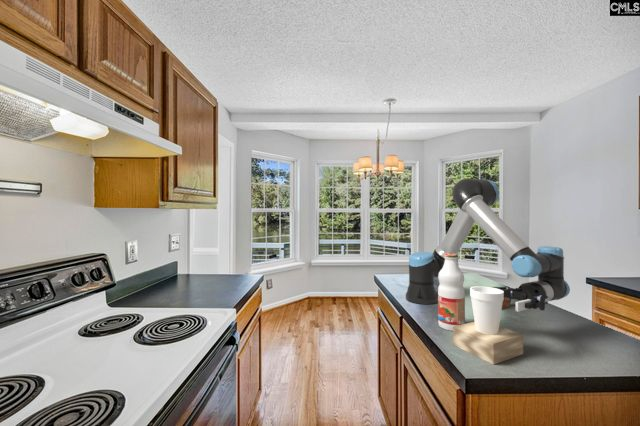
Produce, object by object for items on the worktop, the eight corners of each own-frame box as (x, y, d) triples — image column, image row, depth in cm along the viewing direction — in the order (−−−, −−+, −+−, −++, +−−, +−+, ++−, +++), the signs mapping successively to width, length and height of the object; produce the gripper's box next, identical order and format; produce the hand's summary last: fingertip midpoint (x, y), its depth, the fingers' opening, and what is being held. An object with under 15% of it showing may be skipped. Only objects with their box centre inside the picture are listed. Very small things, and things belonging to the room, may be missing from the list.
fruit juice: (469, 331, 108) (469, 255, 108) (444, 332, 108) (443, 255, 108) (458, 322, 117) (457, 252, 117) (434, 322, 117) (433, 252, 117)
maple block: (453, 344, 97) (452, 326, 97) (481, 336, 103) (481, 319, 103) (493, 364, 85) (493, 343, 85) (523, 354, 91) (523, 334, 91)
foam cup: (503, 339, 88) (503, 295, 87) (469, 332, 92) (468, 291, 92) (503, 328, 96) (503, 288, 96) (471, 322, 100) (471, 284, 100)
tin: (491, 311, 129) (491, 292, 129) (485, 309, 131) (484, 291, 131) (512, 306, 136) (511, 288, 136) (505, 304, 138) (504, 286, 138)
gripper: (577, 314, 93) (537, 325, 84) (500, 294, 116) (462, 301, 107) (577, 290, 93) (536, 299, 84) (500, 275, 116) (462, 281, 107)
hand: (495, 300), depth 95 cm, fingers open, 13 cm apart
